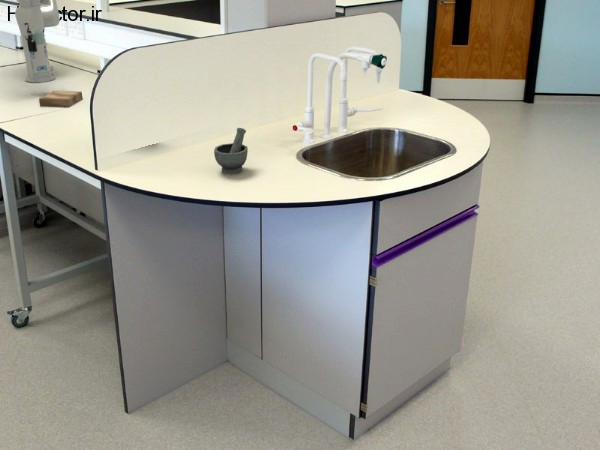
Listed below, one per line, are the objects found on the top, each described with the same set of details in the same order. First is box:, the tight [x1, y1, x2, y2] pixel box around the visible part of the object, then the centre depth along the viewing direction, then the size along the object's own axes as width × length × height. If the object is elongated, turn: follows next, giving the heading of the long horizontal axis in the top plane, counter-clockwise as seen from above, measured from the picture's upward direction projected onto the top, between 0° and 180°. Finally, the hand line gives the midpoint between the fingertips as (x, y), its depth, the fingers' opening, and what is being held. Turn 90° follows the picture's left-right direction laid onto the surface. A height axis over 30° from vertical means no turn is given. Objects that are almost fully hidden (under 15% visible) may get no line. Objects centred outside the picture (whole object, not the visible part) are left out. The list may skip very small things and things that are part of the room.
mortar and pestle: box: [213, 127, 249, 176], centre depth 207 cm, size 11×9×12 cm
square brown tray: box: [38, 90, 84, 108], centre depth 278 cm, size 12×12×3 cm
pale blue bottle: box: [28, 30, 51, 84], centre depth 283 cm, size 6×6×20 cm
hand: (37, 49), depth 282 cm, fingers closed on pale blue bottle, 6 cm apart
